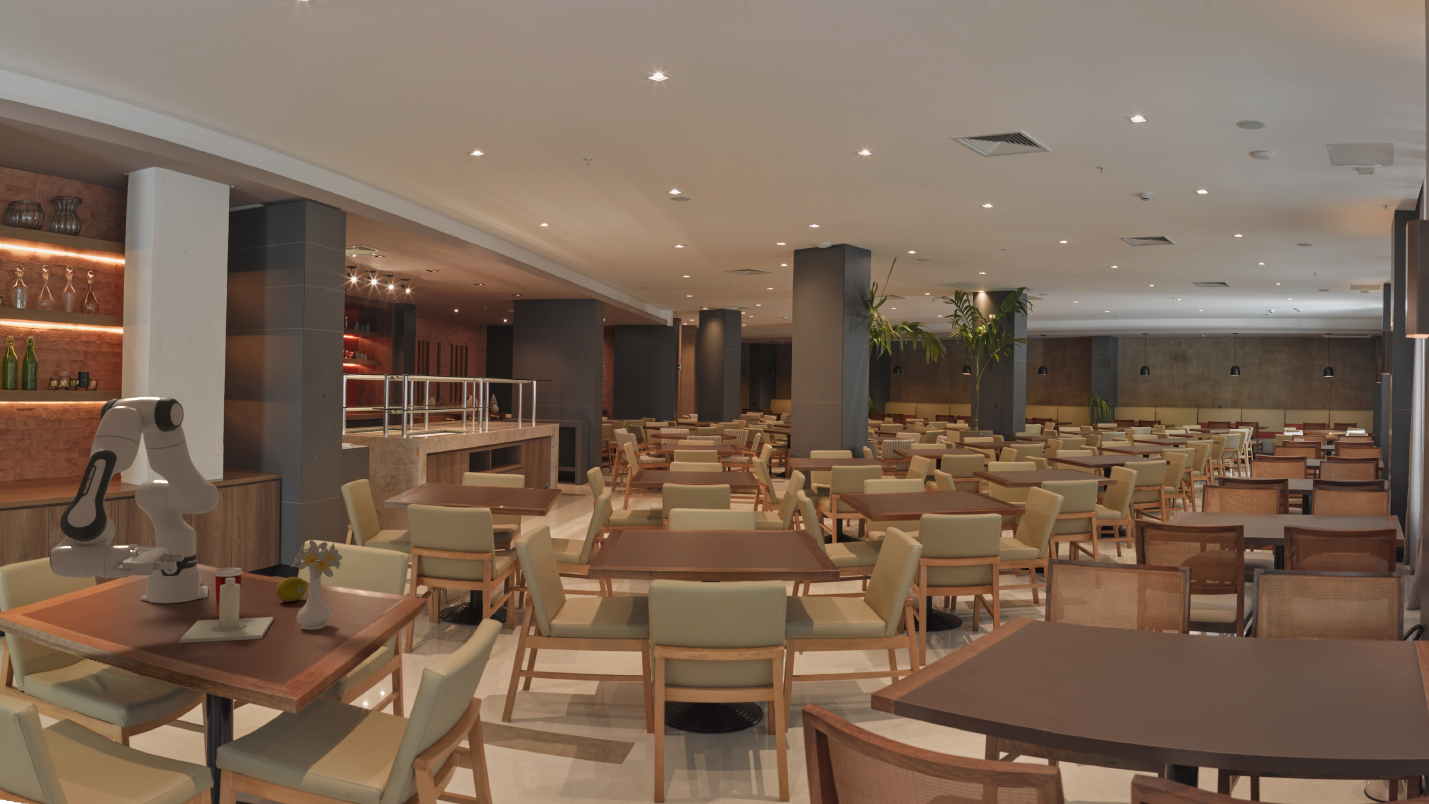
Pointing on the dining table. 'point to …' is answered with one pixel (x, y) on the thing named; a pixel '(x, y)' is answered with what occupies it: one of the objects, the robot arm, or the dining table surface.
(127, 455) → the robot arm
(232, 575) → the paper cup
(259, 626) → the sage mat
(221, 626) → the cream bottle
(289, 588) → the lemon
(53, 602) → the dining table surface
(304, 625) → the flower vase
